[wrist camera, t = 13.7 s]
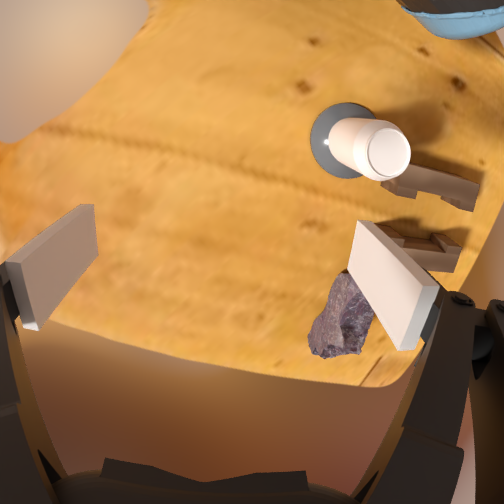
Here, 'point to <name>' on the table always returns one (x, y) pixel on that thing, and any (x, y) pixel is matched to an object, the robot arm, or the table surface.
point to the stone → (341, 321)
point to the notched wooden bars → (451, 190)
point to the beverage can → (370, 147)
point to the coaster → (322, 133)
